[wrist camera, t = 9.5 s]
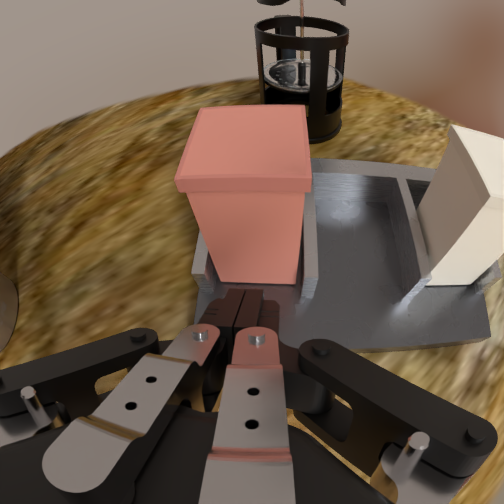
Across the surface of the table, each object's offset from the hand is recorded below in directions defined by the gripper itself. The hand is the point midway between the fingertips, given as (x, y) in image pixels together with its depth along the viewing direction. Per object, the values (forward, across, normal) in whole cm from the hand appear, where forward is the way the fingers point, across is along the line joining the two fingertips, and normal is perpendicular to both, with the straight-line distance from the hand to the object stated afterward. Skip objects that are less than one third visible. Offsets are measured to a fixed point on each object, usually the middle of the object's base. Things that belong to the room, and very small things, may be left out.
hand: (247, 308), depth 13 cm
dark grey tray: (+9, -7, +1) cm, 11 cm away
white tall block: (+8, -14, 0) cm, 16 cm away
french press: (+23, -3, -13) cm, 27 cm away
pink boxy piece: (+9, 0, 0) cm, 9 cm away
